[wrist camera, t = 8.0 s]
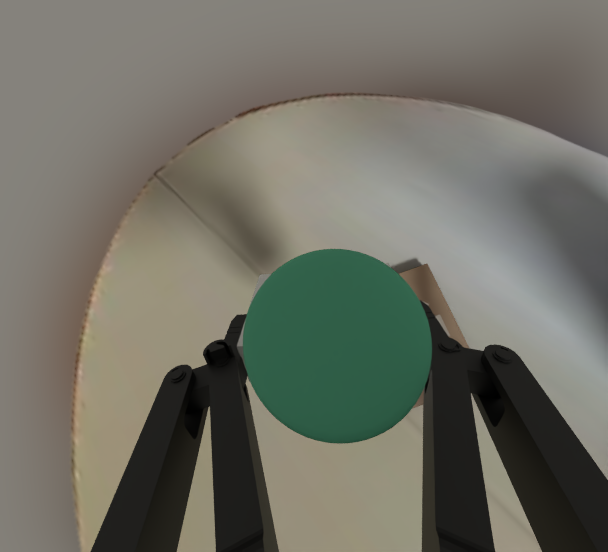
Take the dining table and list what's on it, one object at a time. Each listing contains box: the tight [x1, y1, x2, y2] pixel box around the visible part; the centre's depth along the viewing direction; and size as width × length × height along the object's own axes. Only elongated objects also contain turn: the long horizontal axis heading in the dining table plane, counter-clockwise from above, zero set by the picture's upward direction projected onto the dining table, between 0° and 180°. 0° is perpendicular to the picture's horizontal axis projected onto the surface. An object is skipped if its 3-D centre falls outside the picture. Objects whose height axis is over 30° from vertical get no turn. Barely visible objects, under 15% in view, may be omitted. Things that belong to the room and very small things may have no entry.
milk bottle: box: [243, 249, 432, 443], centre depth 15 cm, size 8×8×20 cm
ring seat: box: [399, 264, 469, 408], centre depth 35 cm, size 18×18×4 cm
